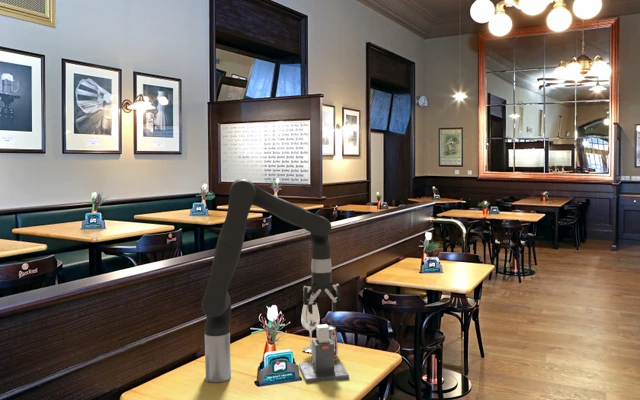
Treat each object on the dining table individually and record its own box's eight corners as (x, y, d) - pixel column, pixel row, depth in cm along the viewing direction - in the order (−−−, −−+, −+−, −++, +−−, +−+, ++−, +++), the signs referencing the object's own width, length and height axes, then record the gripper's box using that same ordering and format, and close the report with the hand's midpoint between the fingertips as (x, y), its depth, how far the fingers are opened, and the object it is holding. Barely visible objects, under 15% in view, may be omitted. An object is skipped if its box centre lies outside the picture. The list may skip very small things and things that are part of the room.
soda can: (318, 357, 233) (317, 328, 232) (325, 352, 239) (325, 324, 238) (333, 360, 230) (332, 330, 229) (340, 355, 236) (339, 326, 235)
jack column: (319, 370, 214) (318, 328, 213) (317, 366, 218) (316, 325, 217) (329, 369, 215) (329, 327, 214) (327, 365, 219) (326, 324, 218)
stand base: (306, 382, 207) (305, 350, 206) (299, 367, 223) (298, 336, 222) (349, 378, 211) (348, 346, 210) (339, 363, 226) (338, 333, 225)
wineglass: (299, 348, 245) (298, 302, 243) (317, 346, 247) (316, 300, 246) (304, 354, 237) (303, 306, 236) (322, 352, 240) (321, 305, 238)
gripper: (304, 273, 209) (305, 316, 210) (342, 270, 211) (343, 314, 213) (301, 269, 216) (302, 311, 217) (337, 267, 219) (338, 308, 220)
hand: (322, 312), depth 215 cm, fingers open, 8 cm apart
